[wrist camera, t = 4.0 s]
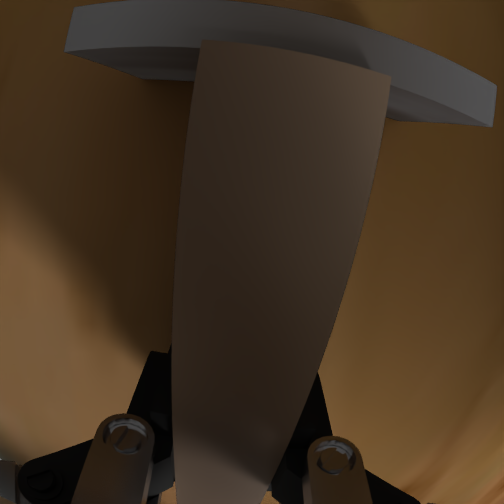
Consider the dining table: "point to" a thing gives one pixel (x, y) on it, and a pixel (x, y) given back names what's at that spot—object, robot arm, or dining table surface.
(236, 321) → the scraper
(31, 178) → the dining table surface
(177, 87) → the dining table surface
